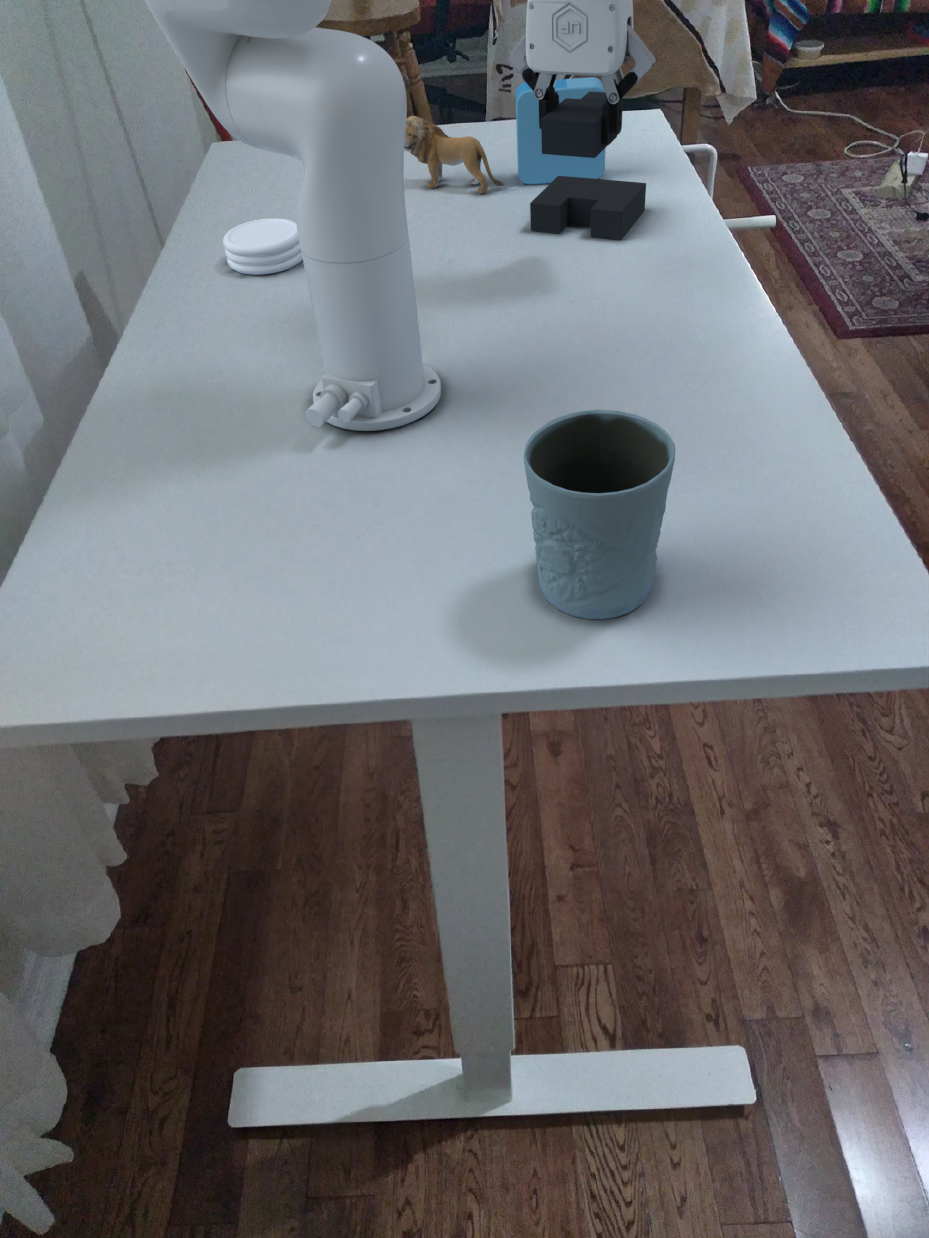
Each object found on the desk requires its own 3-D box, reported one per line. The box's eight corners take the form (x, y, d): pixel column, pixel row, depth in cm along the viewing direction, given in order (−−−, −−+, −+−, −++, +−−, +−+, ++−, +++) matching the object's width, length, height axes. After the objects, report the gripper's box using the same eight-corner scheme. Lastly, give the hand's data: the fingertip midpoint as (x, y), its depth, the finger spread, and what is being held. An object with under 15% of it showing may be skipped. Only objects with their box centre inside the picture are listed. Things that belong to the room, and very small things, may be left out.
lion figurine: (399, 190, 137) (392, 122, 131) (413, 177, 141) (407, 110, 135) (497, 196, 133) (494, 125, 127) (509, 182, 137) (507, 113, 131)
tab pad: (595, 158, 100) (595, 122, 98) (541, 154, 102) (540, 118, 100) (625, 128, 106) (626, 93, 104) (574, 124, 109) (574, 90, 106)
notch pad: (621, 240, 119) (622, 211, 117) (530, 231, 123) (529, 203, 121) (644, 210, 126) (646, 183, 123) (558, 202, 130) (558, 175, 127)
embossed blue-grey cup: (650, 537, 77) (661, 404, 68) (675, 624, 69) (690, 486, 61) (522, 547, 77) (517, 415, 69) (533, 635, 69) (529, 499, 61)
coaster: (215, 275, 120) (208, 247, 118) (247, 243, 127) (241, 216, 125) (290, 278, 118) (284, 249, 116) (318, 245, 125) (313, 217, 122)
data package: (602, 169, 138) (604, 76, 130) (604, 180, 135) (607, 85, 126) (517, 174, 139) (515, 82, 130) (518, 186, 135) (515, 91, 127)
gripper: (481, -56, 92) (492, 145, 104) (657, -57, 85) (647, 157, 98) (512, -72, 96) (519, 123, 109) (682, -74, 90) (669, 133, 102)
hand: (580, 137), depth 103 cm, fingers closed on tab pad, 6 cm apart
